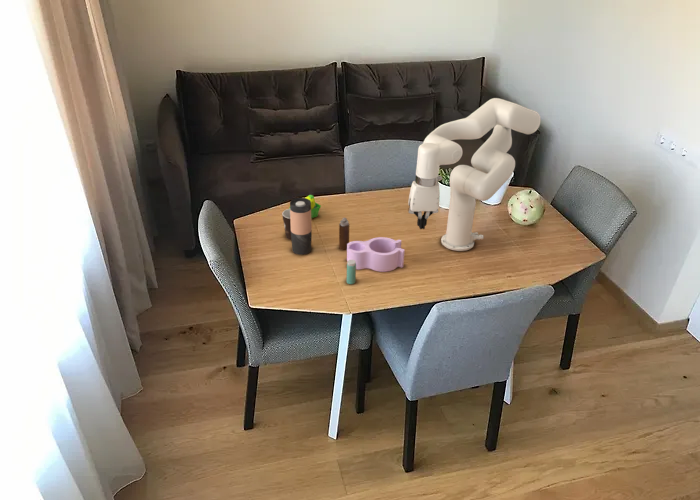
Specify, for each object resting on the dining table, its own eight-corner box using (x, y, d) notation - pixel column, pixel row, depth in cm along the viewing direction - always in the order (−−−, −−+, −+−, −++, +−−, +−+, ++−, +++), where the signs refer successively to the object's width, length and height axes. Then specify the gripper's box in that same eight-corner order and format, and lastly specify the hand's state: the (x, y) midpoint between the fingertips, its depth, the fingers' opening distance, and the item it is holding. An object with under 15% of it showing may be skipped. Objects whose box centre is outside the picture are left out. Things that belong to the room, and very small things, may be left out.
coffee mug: (301, 242, 225) (301, 219, 220) (280, 240, 227) (279, 217, 221) (309, 228, 235) (309, 206, 230) (288, 225, 236) (288, 203, 231)
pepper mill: (348, 244, 225) (349, 215, 218) (349, 249, 222) (350, 220, 215) (338, 245, 224) (338, 215, 218) (339, 250, 221) (339, 220, 215)
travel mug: (315, 247, 222) (314, 200, 212) (305, 257, 217) (304, 208, 206) (297, 242, 225) (296, 195, 215) (287, 252, 219) (285, 204, 209)
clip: (349, 272, 208) (349, 256, 204) (345, 254, 219) (346, 238, 215) (404, 270, 210) (406, 254, 206) (398, 252, 221) (400, 236, 217)
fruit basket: (310, 210, 248) (309, 185, 243) (323, 217, 243) (323, 192, 237) (288, 218, 242) (287, 193, 236) (302, 226, 236) (301, 201, 230)
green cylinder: (355, 278, 205) (355, 258, 201) (356, 284, 202) (356, 264, 198) (345, 279, 205) (346, 259, 200) (346, 284, 202) (347, 264, 198)
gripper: (445, 174, 203) (439, 221, 213) (402, 175, 201) (398, 222, 211) (450, 183, 197) (444, 231, 206) (406, 184, 195) (402, 233, 205)
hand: (421, 227), depth 209 cm, fingers closed
